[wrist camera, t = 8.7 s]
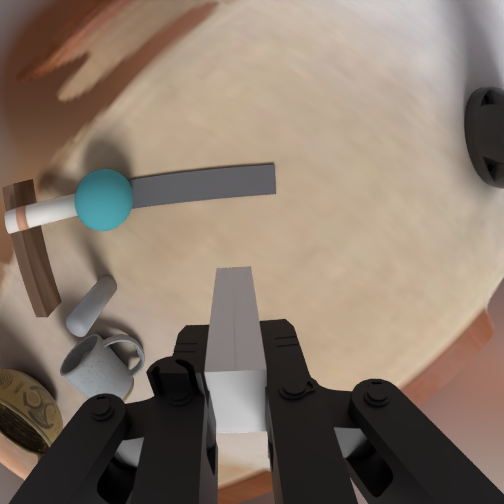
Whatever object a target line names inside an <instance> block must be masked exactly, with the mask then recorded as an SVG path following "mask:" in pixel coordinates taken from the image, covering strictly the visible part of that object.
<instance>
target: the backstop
mask: <svg viewBox="0 0 504 504" xmlns="http://www.w3.org/2000/svg"><path fill="white" fill-rule="evenodd" d="M3 195H4V202H5V208H6V211H9V210H13V209H16V208H18V207H21V206H25V205H30V204H34V203H36V198H35V191H34V184H33V179H32V180H27V181H23V182H19V183H15V184H12V185H9V186H6V187H3ZM11 238H12V242H13V246H14V250H15V254H16V257H17V261H18V265H19V268H20V271H21V275H22V278H23V281H24V284H25V287H26V290H27V293H28V296H29V299H30V302H31V304H32V307H33V310H34V312H35V315H36V317H48V316H49V315H50V314H51V313H52V312H53V311H54V309H55V308H56V307H57V306H58V305H59V304H60V303H61V299H60V296H59V293H58V290H57V287H56V284H55V280H54V277H53V274H52V270H51V267H50V263H49V259H48V256H47V252H46V248H45V243H44V239H43V235H42V230H41V225H39V226H35V227H31V228H30V229H26V230H23V231H17V232H14V233H11Z"/></svg>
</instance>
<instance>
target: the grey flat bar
mask: <svg viewBox="0 0 504 504" xmlns="http://www.w3.org/2000/svg"><path fill="white" fill-rule="evenodd" d="M128 182H129V184H130V186H131V188H132V192H133V205H132V209H133V208H140V207H148V206H156V205H164V204H172V203H181V202H190V201H199V200H209V199H219V198H230V197H242V196H255V195H268V194H276V181H275V165H257V166H243V167H231V168H219V169H209V170H200V171H191V172H182V173H174V174H167V175H159V176H152V177H146V178H139V179H133V180H128Z"/></svg>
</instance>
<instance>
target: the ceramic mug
mask: <svg viewBox="0 0 504 504" xmlns="http://www.w3.org/2000/svg"><path fill="white" fill-rule="evenodd" d="M116 342H127V343H132V344H134V346H135V347H136V349H137V354H139V356H140V361H139V363H138V364H137V365H136V366H135V367H134V368H133V369H131V370H129V369H128V368H127V367H126V366H125V364H124V363H123V362H122V361H121V360H120V359H119V358H118V357H117V356H116V354H115V353H114V352H113V351H112V349H111V348H110V347H109V346H108V345H109V344H112V343H116ZM144 361H145V356H144V352H143V348H142V346H141V345H140V343H139V342H138V341H137V340H136V339H135V338H133V337H131V336H129V335H124V334H119V335H115V336H112V337H109V338H107V339H105V340H103V339H102V337H101V336H100V335H98V334H93V335H90V336H88V337H86V338H85V339H83V340H82V341H80V342H79V343H78V344H77V345H76V346H75V347H74V348H73V349H72V350H71V351H70V353H69V354H68V355H67V357H66V358H65V360H64V362H63V364H62V366H61V369H60V373H61V376H62V377H63V378H65V379H66V380H67V381H68V382H69V383H70V384H71V385H72V386H74V387H75V388H76V389H77V390H78V391H79V392H81V393H82V394H83V395H84V396H85V397H87V398H88V399H89V398H90V397H93V396H95V395H97V394H103V393H108V394H114V395H116V396H118V397H120V398H121V399H122V401H123V402H125V401H126V400H127V398H128V397H129V396H130V394H131V392H132V390H133V386H134V378H133V376H135V375H136V374H138V373H139V372H140V371H141V369H142V368H143V366H144Z"/></svg>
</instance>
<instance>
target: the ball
mask: <svg viewBox="0 0 504 504" xmlns="http://www.w3.org/2000/svg"><path fill="white" fill-rule="evenodd" d="M74 203H75V209H76V213H77V215H78V217H79V218H80V220H81V221H82V222H83V223H84V224H85V225H86V226H87V227H89V228H91V229H94V230H97V231H107V230H111V229H114V228H116V227H118V226H119V225H121V224H122V223H123V222H124V221H125V220H126V218H127V217H128V215H129V214H130V211H131V209H132V205H133V192H132V188H131V186H130V184H129V182H128V180H127V179H126V178H125V177H124V176H123V175H122V174H121V173H119V172H117V171H115V170H112V169H99V170H95V171H93V172H91V173H89V174H88V175H87V176H85V177H84V178H83V179H82V181H81V182H80V184H79V185H78V187H77V190H76V193H75V199H74Z"/></svg>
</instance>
